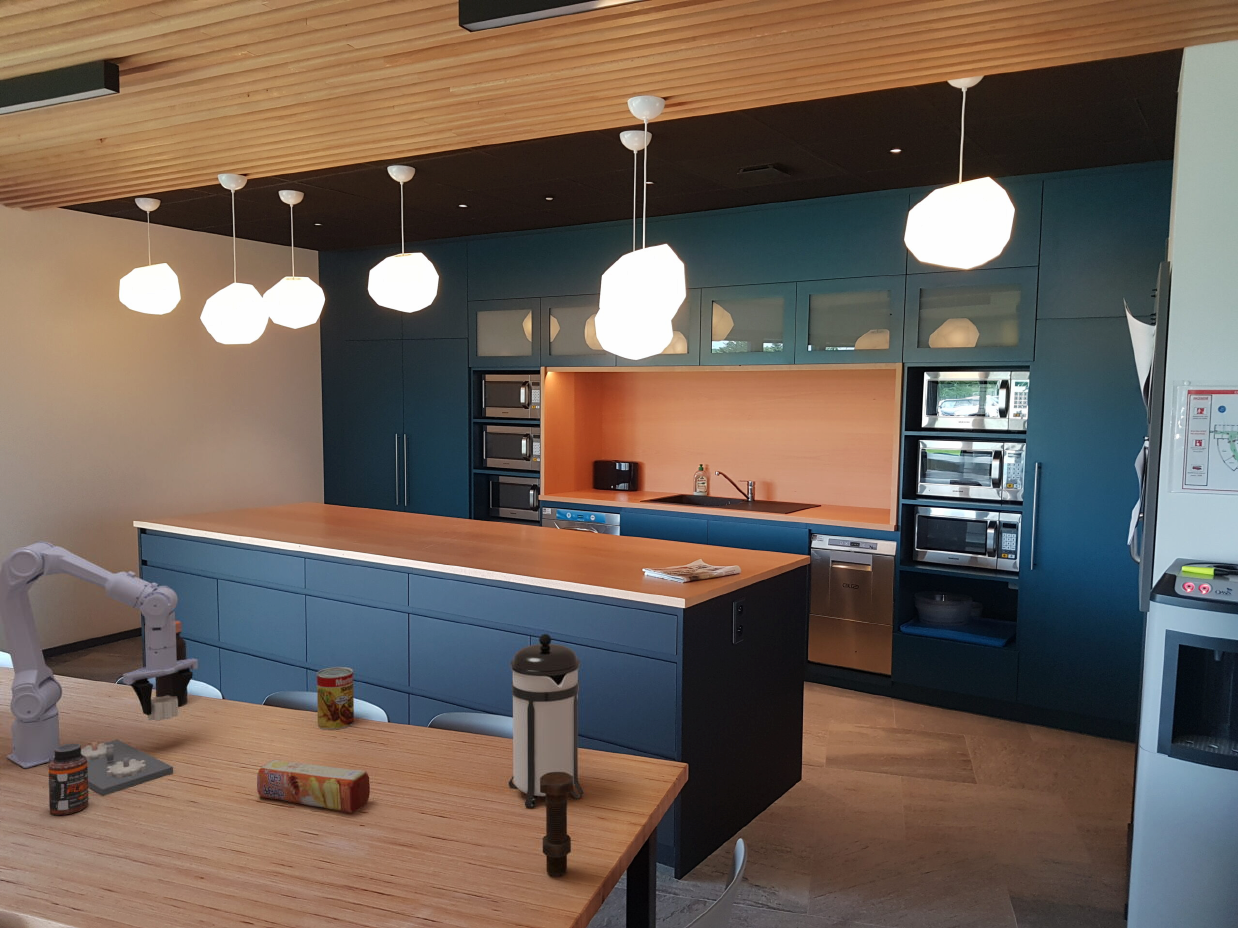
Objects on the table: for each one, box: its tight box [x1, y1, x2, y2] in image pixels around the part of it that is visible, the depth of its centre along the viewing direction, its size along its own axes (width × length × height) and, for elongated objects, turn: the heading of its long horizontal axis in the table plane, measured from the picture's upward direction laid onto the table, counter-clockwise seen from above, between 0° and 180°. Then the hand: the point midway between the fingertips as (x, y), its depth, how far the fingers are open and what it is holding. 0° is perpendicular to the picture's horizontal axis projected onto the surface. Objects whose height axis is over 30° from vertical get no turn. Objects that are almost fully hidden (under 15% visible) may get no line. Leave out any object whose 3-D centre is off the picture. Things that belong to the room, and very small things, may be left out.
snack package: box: [256, 759, 371, 814], centre depth 161 cm, size 21×7×7 cm, turn 71°
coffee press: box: [508, 633, 585, 809], centre depth 165 cm, size 17×16×30 cm
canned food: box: [316, 666, 355, 731], centre depth 201 cm, size 8×8×12 cm
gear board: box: [48, 739, 174, 796], centre depth 176 cm, size 24×13×5 cm, turn 53°
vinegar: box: [154, 620, 189, 706], centre depth 214 cm, size 7×7×20 cm
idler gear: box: [146, 695, 179, 722], centre depth 186 cm, size 6×6×4 cm
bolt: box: [540, 772, 574, 878], centre depth 136 cm, size 6×5×15 cm
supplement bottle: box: [48, 742, 89, 816], centre depth 158 cm, size 6×6×11 cm
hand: (162, 709), depth 186 cm, fingers closed on idler gear, 6 cm apart
